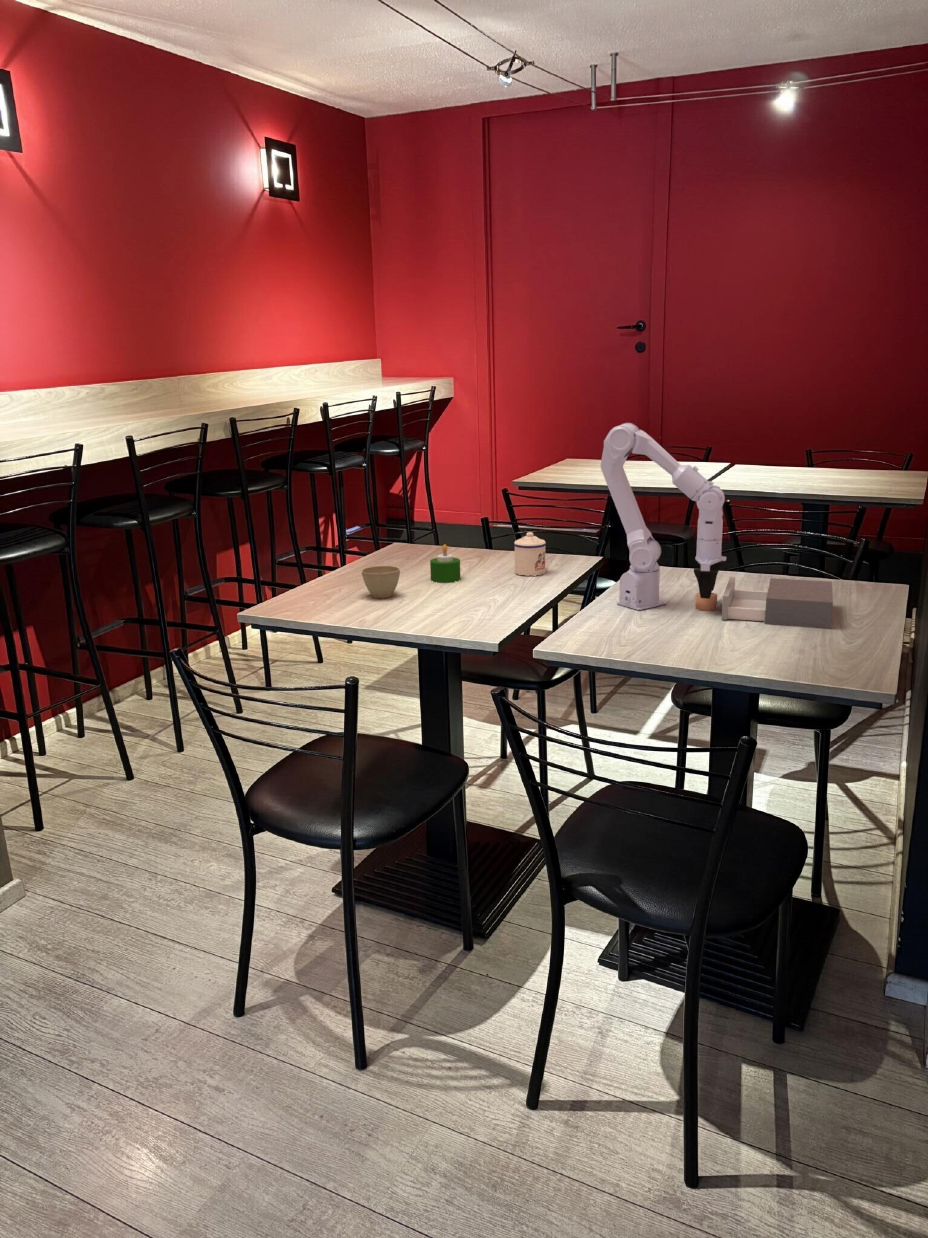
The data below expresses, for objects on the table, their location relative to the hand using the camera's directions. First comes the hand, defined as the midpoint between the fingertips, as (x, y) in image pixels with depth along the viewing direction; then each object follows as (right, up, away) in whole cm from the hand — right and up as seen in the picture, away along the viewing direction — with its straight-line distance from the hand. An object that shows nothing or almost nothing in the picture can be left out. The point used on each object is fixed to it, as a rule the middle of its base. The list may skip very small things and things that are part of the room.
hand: (707, 594), depth 225 cm
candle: (-64, +5, +36) cm, 73 cm away
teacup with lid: (-39, +7, +42) cm, 58 cm away
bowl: (-80, 0, +20) cm, 82 cm away
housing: (+19, -5, -6) cm, 20 cm away
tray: (+10, -4, -3) cm, 11 cm away
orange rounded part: (0, -3, +1) cm, 4 cm away
